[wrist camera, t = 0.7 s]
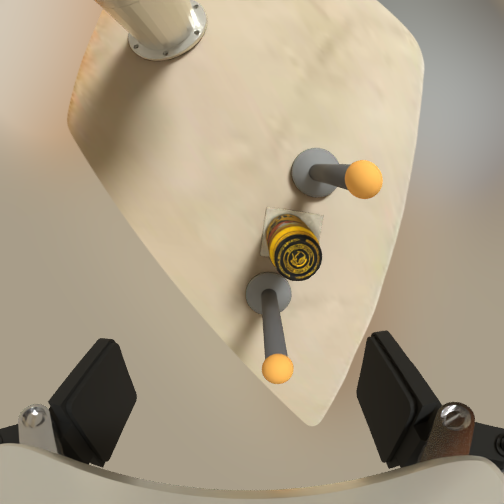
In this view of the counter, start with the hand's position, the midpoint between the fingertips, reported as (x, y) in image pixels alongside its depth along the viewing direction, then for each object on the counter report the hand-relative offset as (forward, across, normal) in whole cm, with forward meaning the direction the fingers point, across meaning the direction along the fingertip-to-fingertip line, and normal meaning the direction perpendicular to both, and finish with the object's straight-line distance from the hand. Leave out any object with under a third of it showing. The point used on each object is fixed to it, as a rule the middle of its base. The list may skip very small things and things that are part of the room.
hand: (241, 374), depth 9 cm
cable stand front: (+32, -9, -7) cm, 34 cm away
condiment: (+33, -6, +2) cm, 33 cm away
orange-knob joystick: (+33, -2, +11) cm, 35 cm away
